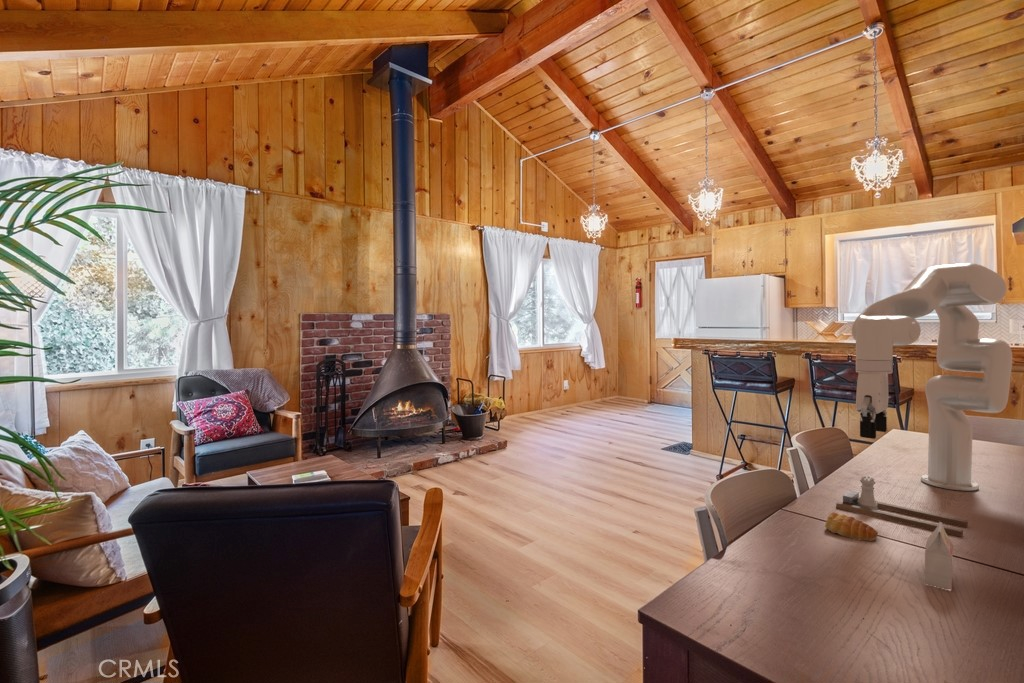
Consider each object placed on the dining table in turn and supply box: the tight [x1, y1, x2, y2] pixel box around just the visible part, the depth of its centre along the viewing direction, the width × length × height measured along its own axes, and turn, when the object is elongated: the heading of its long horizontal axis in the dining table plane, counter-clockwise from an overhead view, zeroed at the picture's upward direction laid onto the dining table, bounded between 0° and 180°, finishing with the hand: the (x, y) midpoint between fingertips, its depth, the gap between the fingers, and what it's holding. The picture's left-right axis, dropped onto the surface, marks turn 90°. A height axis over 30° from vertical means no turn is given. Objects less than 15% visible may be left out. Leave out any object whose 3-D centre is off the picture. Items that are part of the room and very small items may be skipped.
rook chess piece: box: [857, 476, 879, 511], centre depth 127 cm, size 4×4×8 cm
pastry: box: [824, 512, 879, 542], centre depth 112 cm, size 9×7×4 cm
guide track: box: [835, 500, 969, 538], centre depth 122 cm, size 9×24×1 cm, turn 41°
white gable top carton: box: [923, 521, 954, 590], centre depth 92 cm, size 4×7×10 cm, turn 138°
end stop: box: [842, 490, 860, 506], centre depth 129 cm, size 6×2×3 cm, turn 132°
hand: (873, 434), depth 127 cm, fingers open, 9 cm apart
